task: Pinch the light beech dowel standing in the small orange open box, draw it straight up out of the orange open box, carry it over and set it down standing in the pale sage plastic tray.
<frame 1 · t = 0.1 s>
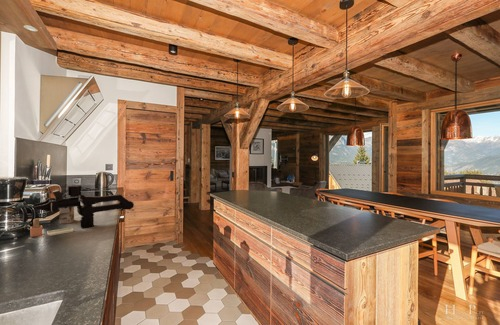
hand: (33, 206, 135), 17 cm above the countertop, tool horizontal, fingers open, 9 cm apart
tray: (60, 232, 140), on the countertop
coffee box: (67, 222, 163), on the countertop
pin: (36, 234, 135), resting on orange open box
orange open box: (36, 235, 135), on the countertop
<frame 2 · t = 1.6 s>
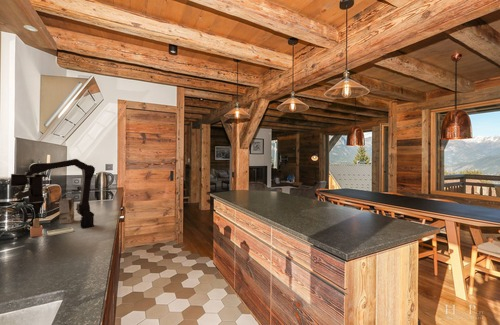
hand: (36, 212, 135), 13 cm above the countertop, tool pointing down, fingers open, 9 cm apart
nothing on the countertop moved.
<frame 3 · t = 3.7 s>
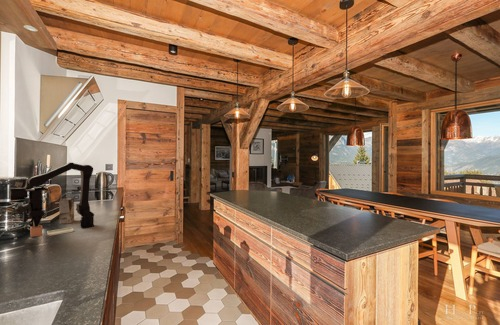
hand: (36, 226, 135), 6 cm above the countertop, tool pointing down, fingers closed on pin, 2 cm apart
pin: (36, 234, 135), point 1 cm above the countertop, touching orange open box, gripper
everything else where it was.
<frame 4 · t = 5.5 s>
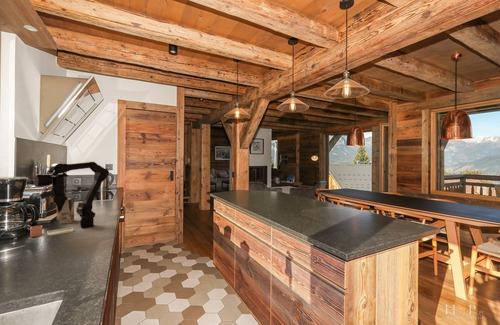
hand: (59, 211, 140), 13 cm above the countertop, tool pointing down, fingers closed on pin, 2 cm apart
pin: (59, 219, 140), point 8 cm above the countertop, touching gripper
everything else where it was.
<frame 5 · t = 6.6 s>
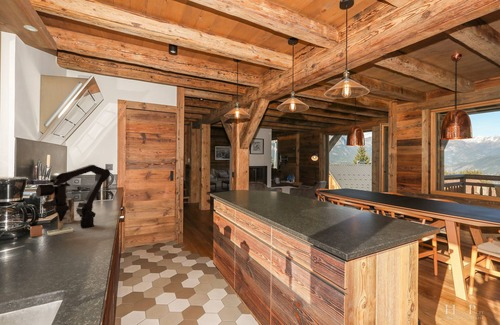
hand: (60, 220, 140), 7 cm above the countertop, tool pointing down, fingers closed on pin, 2 cm apart
pin: (60, 229, 140), point 2 cm above the countertop, touching gripper
everything else where it was.
when the fingers open (6 cm above the countertop, at t = 7.4 s): pin stays where it is, resting on tray.
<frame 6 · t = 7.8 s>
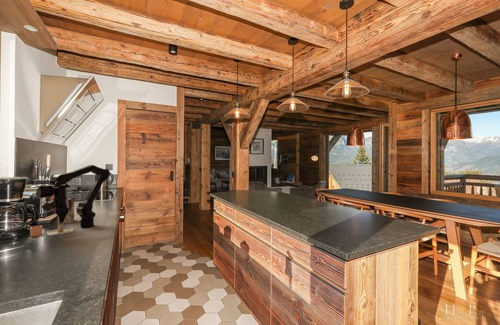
hand: (60, 222, 140), 6 cm above the countertop, tool pointing down, fingers open, 7 cm apart
pin: (60, 232, 140), point 1 cm above the countertop, touching tray
everything else where it was.
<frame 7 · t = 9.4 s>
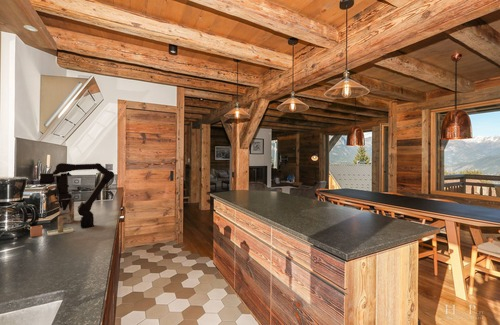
hand: (62, 209, 145), 13 cm above the countertop, tool pointing down, fingers open, 9 cm apart
nothing on the countertop moved.
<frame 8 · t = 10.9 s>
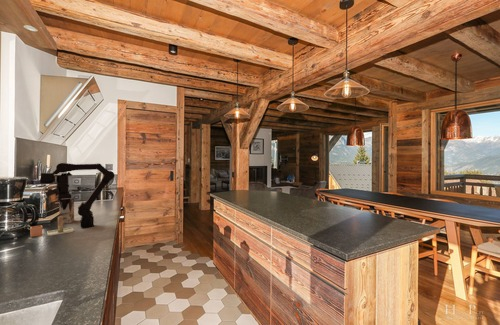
hand: (63, 208, 146), 13 cm above the countertop, tool pointing down, fingers open, 9 cm apart
nothing on the countertop moved.
at the end: pin inside the target area on the tray (0.0 cm from its centre), point 0.5 cm above the tray's base; the gripper is holding nothing; pin moved 10.9 cm from its start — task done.
